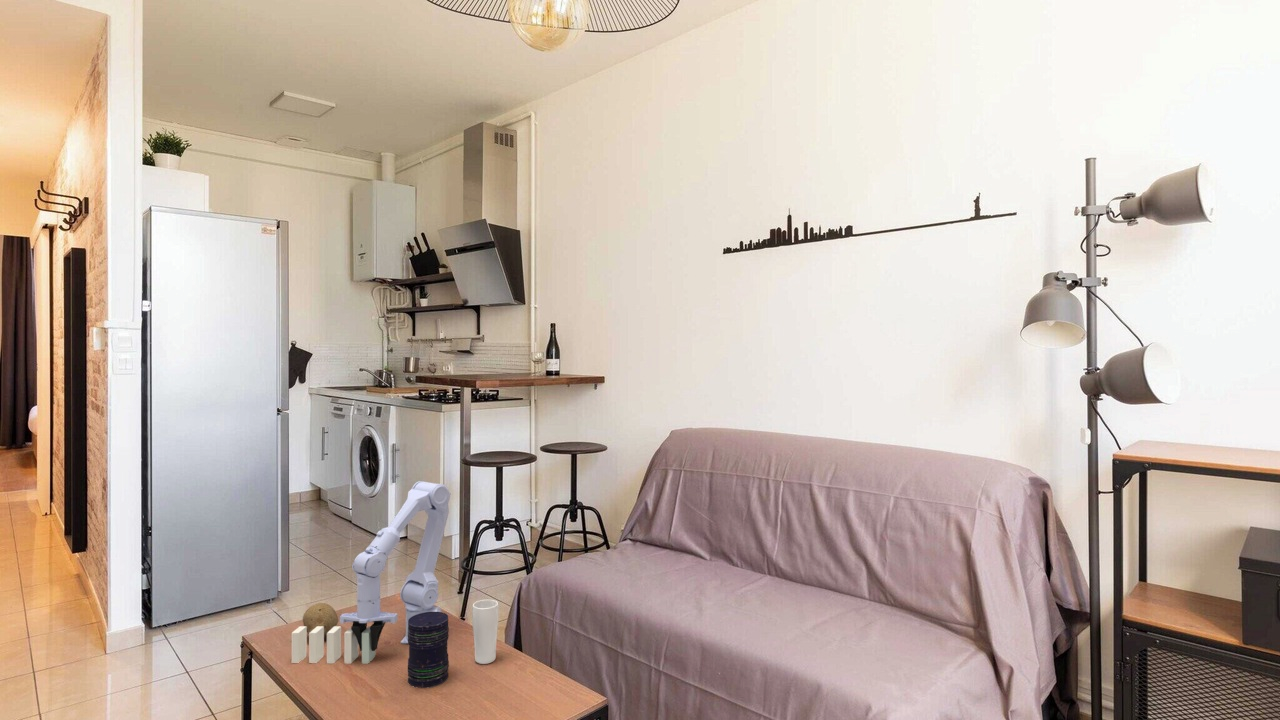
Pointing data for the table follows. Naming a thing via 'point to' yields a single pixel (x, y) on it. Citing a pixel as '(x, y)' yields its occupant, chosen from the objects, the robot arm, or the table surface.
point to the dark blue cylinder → (428, 649)
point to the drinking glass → (485, 630)
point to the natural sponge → (320, 617)
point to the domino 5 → (367, 646)
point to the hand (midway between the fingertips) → (368, 649)
